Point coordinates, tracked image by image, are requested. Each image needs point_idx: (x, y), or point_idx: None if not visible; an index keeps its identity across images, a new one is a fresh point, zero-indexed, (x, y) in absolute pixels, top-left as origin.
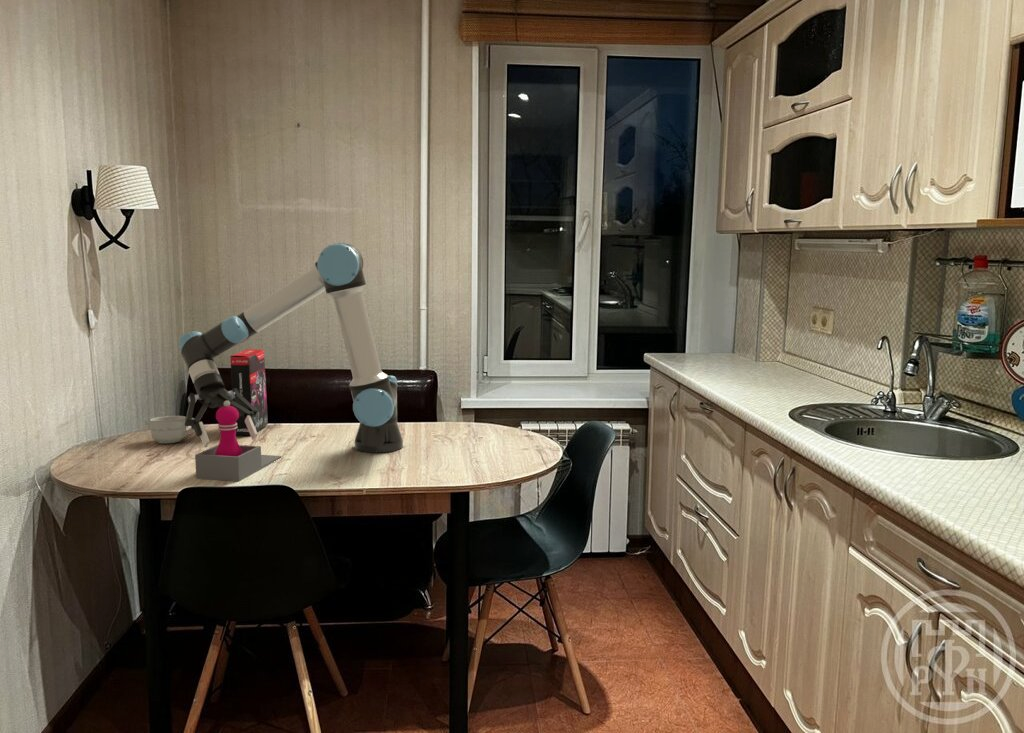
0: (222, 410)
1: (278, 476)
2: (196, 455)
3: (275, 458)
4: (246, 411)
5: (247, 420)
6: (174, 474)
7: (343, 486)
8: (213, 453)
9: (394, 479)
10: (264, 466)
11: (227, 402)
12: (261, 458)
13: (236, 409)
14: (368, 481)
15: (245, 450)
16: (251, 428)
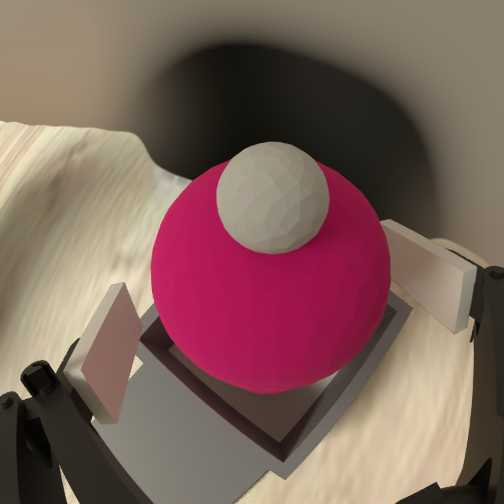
0: (335, 172)
1: (142, 243)
2: (406, 305)
3: None
4: (60, 407)
5: (101, 371)
6: (430, 401)
7: (82, 131)
8: (325, 407)
9: (15, 150)
10: (142, 367)
11: (269, 144)
12: (129, 458)
13: (166, 215)
14: (40, 148)
15: (184, 380)
16: (116, 320)
